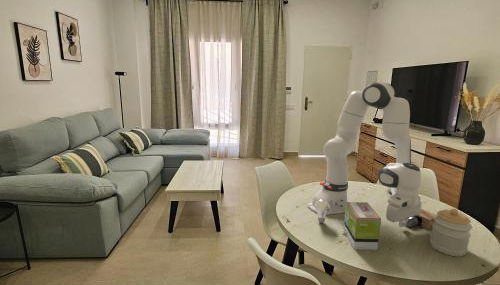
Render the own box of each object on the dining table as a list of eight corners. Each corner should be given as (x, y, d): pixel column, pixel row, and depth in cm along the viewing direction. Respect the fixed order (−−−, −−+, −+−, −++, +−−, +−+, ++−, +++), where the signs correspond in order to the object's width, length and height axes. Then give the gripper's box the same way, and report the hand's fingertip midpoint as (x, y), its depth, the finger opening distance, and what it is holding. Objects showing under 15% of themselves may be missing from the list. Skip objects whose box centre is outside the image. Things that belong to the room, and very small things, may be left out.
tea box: (342, 230, 129) (345, 201, 126) (364, 231, 129) (368, 201, 126) (353, 249, 115) (356, 216, 112) (378, 250, 114) (382, 217, 111)
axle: (411, 228, 132) (410, 219, 132) (403, 226, 135) (402, 218, 136) (432, 221, 139) (430, 213, 139) (424, 220, 142) (422, 212, 143)
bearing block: (427, 230, 131) (429, 219, 130) (404, 219, 141) (405, 209, 140) (438, 226, 135) (439, 216, 133) (414, 216, 145) (415, 206, 144)
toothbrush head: (394, 200, 154) (387, 180, 177) (392, 211, 157) (386, 189, 179) (405, 202, 153) (396, 181, 175) (403, 212, 155) (395, 190, 178)
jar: (453, 260, 109) (462, 218, 105) (422, 243, 121) (428, 205, 117) (473, 253, 114) (482, 213, 110) (441, 236, 126) (448, 200, 122)
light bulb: (320, 227, 132) (322, 204, 129) (310, 221, 138) (312, 198, 135) (331, 224, 135) (333, 201, 132) (321, 218, 141) (323, 195, 138)
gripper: (414, 192, 136) (410, 218, 138) (385, 199, 126) (381, 227, 129) (427, 197, 130) (422, 224, 133) (398, 205, 121) (394, 234, 124)
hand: (402, 226), depth 131 cm, fingers closed
